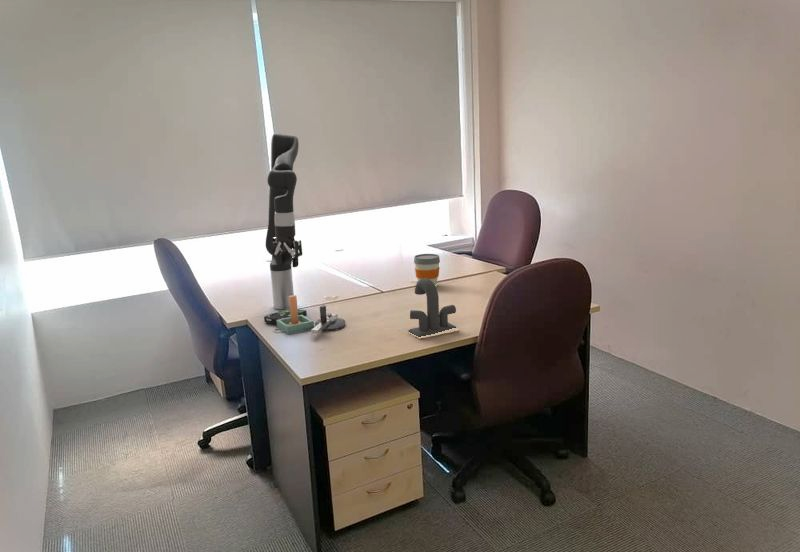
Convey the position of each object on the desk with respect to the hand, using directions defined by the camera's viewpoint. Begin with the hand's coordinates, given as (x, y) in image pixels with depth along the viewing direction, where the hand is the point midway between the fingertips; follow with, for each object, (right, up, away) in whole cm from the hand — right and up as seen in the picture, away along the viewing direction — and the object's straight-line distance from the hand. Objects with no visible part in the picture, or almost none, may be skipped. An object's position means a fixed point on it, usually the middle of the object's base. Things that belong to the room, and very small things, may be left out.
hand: (287, 265), depth 224 cm
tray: (+2, -25, +7) cm, 25 cm away
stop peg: (+2, -24, +6) cm, 25 cm away
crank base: (+16, -24, +7) cm, 30 cm away
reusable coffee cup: (+57, -9, +61) cm, 84 cm away
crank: (+14, -23, +2) cm, 28 cm away
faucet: (+55, -25, -1) cm, 60 cm away
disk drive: (-4, -22, +17) cm, 28 cm away
